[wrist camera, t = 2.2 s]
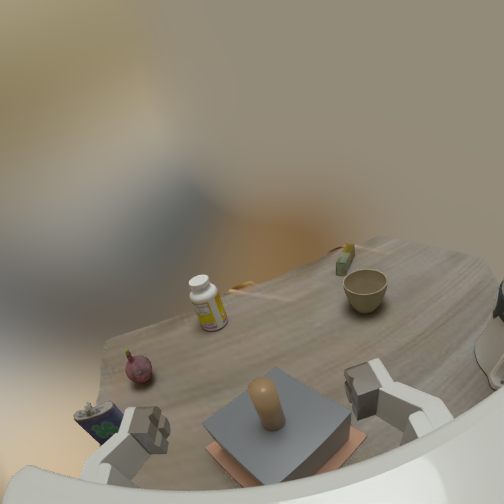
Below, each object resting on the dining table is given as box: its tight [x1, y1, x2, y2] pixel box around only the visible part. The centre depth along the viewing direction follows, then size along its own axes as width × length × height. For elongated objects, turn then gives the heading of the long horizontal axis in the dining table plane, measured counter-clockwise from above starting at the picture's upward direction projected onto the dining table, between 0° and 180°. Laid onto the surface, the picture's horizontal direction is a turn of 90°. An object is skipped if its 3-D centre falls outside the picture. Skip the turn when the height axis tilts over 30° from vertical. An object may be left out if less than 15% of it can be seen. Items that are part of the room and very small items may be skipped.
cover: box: [202, 367, 351, 486], centre depth 32 cm, size 14×14×17 cm
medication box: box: [336, 244, 355, 276], centre depth 78 cm, size 12×3×4 cm, turn 149°
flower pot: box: [343, 269, 388, 313], centre depth 59 cm, size 10×10×7 cm
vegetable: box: [125, 349, 152, 383], centre depth 52 cm, size 6×6×10 cm
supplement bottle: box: [189, 275, 227, 331], centre depth 66 cm, size 7×7×13 cm
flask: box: [74, 401, 124, 445], centre depth 38 cm, size 9×3×11 cm, turn 117°
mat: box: [206, 426, 367, 488], centre depth 35 cm, size 18×18×1 cm
